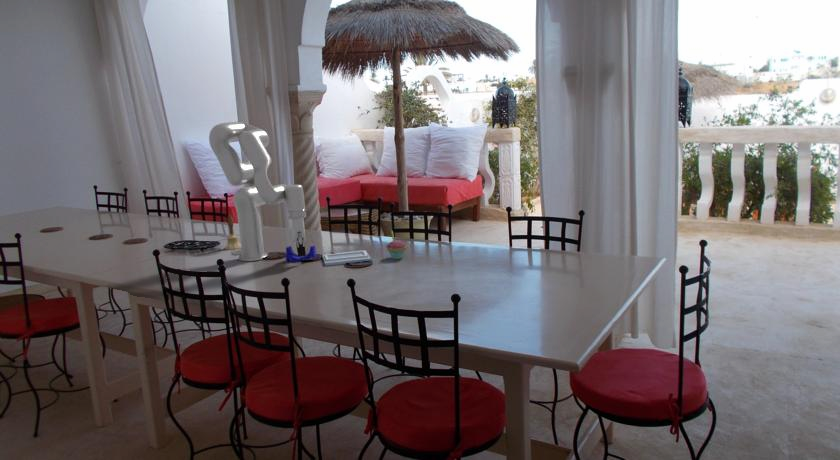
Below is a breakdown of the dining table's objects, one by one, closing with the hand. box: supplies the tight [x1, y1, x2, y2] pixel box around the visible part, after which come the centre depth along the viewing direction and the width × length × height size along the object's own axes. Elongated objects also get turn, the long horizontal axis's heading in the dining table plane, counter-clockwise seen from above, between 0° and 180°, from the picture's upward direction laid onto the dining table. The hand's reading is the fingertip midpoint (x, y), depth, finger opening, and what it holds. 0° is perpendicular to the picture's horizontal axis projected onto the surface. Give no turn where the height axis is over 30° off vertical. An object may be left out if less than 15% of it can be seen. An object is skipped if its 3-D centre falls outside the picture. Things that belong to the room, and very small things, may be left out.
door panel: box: [321, 249, 372, 267], centre depth 273 cm, size 19×16×2 cm
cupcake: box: [386, 230, 407, 260], centre depth 271 cm, size 9×8×12 cm
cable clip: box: [285, 245, 317, 263], centre depth 275 cm, size 12×4×6 cm, turn 85°
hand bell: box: [224, 214, 241, 251], centre depth 305 cm, size 8×8×16 cm
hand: (301, 253), depth 273 cm, fingers open, 9 cm apart
